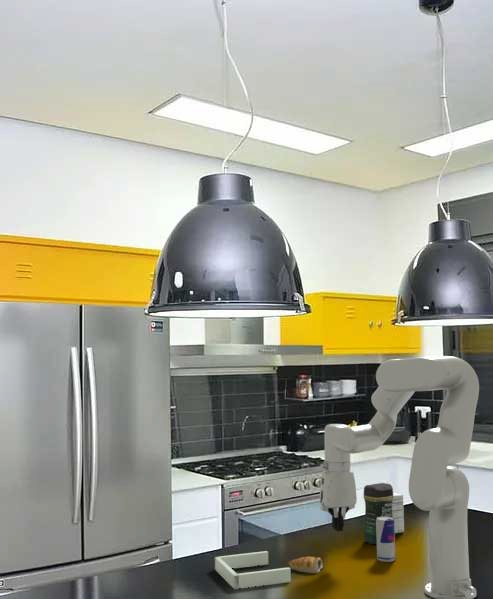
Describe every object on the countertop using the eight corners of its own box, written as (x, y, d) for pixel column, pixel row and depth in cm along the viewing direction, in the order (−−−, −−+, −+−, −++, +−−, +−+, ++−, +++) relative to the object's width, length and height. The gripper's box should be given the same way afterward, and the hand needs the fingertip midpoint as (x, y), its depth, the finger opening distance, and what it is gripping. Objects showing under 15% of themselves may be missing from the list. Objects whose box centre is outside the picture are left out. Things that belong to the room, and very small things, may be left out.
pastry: (286, 571, 200) (285, 558, 201) (293, 565, 206) (293, 551, 207) (317, 575, 197) (317, 561, 197) (324, 568, 203) (324, 554, 203)
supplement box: (374, 530, 244) (373, 492, 245) (391, 527, 247) (390, 490, 248) (387, 534, 238) (386, 496, 238) (405, 532, 241) (403, 494, 242)
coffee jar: (377, 547, 223) (375, 487, 224) (360, 541, 229) (358, 483, 231) (399, 542, 228) (397, 483, 230) (382, 536, 235) (380, 480, 236)
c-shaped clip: (290, 581, 191) (290, 568, 191) (234, 589, 185) (234, 575, 186) (267, 563, 208) (266, 551, 208) (214, 569, 203) (214, 557, 203)
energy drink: (395, 562, 206) (394, 520, 207) (377, 561, 207) (375, 520, 208) (395, 557, 211) (394, 516, 212) (377, 556, 212) (376, 516, 213)
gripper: (319, 470, 202) (320, 535, 201) (366, 467, 207) (366, 531, 206) (309, 466, 209) (309, 529, 208) (354, 463, 214) (354, 524, 213)
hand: (337, 529), depth 207 cm, fingers closed
